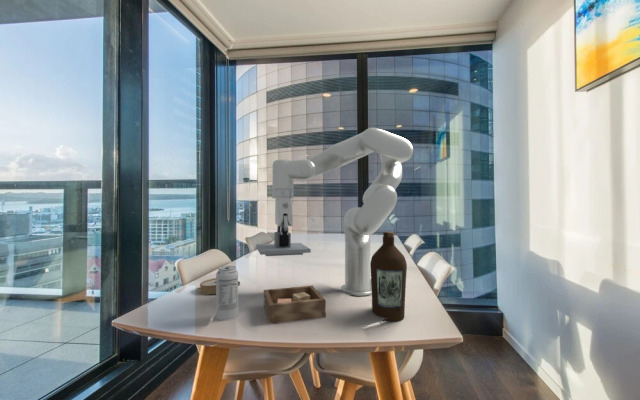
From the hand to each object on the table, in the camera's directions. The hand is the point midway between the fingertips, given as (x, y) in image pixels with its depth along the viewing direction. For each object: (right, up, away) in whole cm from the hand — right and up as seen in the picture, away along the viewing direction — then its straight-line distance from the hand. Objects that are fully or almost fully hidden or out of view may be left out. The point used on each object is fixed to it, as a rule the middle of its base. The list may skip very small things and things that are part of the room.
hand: (282, 244), depth 105 cm
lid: (0, -3, 0) cm, 3 cm away
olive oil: (+34, -19, -18) cm, 43 cm away
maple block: (+8, -18, -14) cm, 24 cm away
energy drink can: (-13, -19, -21) cm, 31 cm away
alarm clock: (-24, -19, +6) cm, 31 cm away
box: (+5, -19, -17) cm, 26 cm away
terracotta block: (+3, -18, -20) cm, 27 cm away
